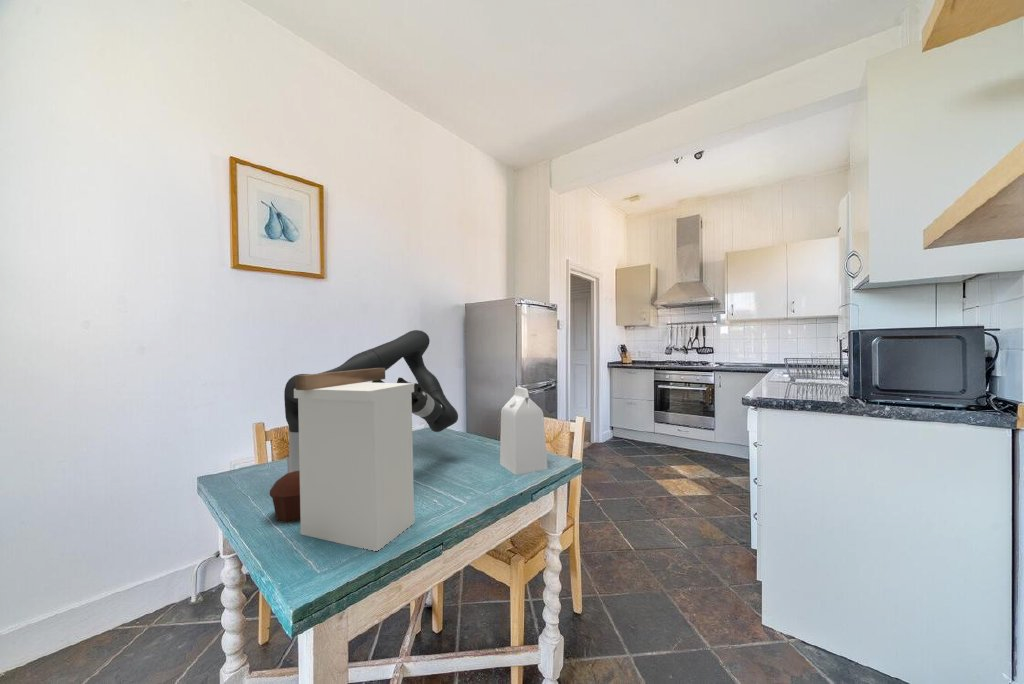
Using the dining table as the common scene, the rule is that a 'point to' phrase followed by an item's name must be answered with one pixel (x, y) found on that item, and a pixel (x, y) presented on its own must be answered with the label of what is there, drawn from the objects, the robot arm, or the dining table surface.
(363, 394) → the tall stand
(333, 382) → the walnut handle
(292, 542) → the dining table surface
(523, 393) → the milk
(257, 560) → the dining table surface
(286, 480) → the muffin
